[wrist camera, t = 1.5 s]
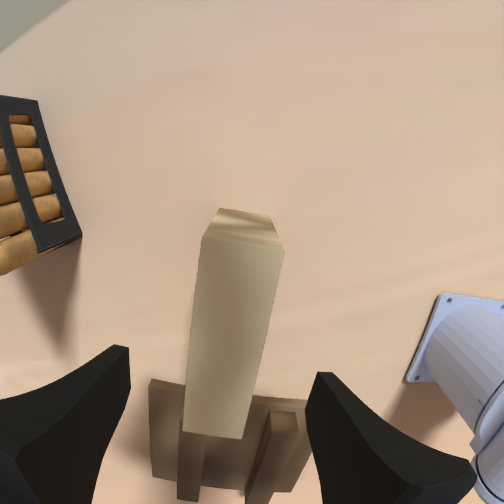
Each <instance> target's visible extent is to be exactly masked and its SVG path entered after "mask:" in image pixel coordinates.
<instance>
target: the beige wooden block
mask: <svg viewBox="0 0 504 504" xmlns="http://www.w3.org/2000/svg"><path fill="white" fill-rule="evenodd" d="M284 251H285V250H284V248H283V246H282V244H281V241H280V239H279V237H278V234H277V232H276V230H275V228H274V225H273V223H272V221H271V219H270V216H266V215H260V214H254V213H248V212H242V211H236V210H230V209H223V208H220V209H219V210H218V212H217V213H216V215H215V217H214V218H213V220H212V222H211V223H210V225H209V227H208V228H207V230H206V231H205V233H204V235H203V236H202V241H201V249H200V256H199V264H198V272H197V280H196V288H195V297H194V306H193V315H192V324H191V334H190V344H189V355H188V366H187V377H186V389H185V403H184V417H183V431H186V432H192V433H198V434H204V435H211V436H218V437H225V438H234V439H242V436H243V432H244V428H245V424H246V420H247V416H248V411H249V407H250V403H251V399H252V395H253V391H254V387H255V382H256V378H257V374H258V370H259V365H260V361H261V357H262V352H263V348H264V344H265V339H266V335H267V330H268V326H269V321H270V317H271V312H272V308H273V303H274V298H275V294H276V289H277V284H278V280H279V275H280V270H281V265H282V260H283V256H284Z"/></svg>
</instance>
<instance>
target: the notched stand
mask: <svg viewBox="0 0 504 504" xmlns="http://www.w3.org/2000/svg"><path fill="white" fill-rule="evenodd" d="M185 389H186V385H180V384H175V383H170V382H165V381H160V380H156V379H151V381H150V384H149V426H150V446H151V462H152V474H153V477H156V478H161V479H166V480H171V481H176V482H177V499H180V500H186V501H192V502H198V500H199V492H200V486H207V487H215V488H223V489H233V490H245V504H268V503H269V501H270V499H271V497H272V495H273V493H274V492H291V491H292V489H293V487H294V485H295V483H296V482H297V480H298V478H299V476H300V474H301V472H302V470H303V468H304V466H305V464H306V462H307V460H308V458H309V456H310V454H311V452H312V449H311V445H310V441H309V437H308V433H307V428H306V419H305V407H306V404H307V401H308V400H299V399H285V398H274V397H263V396H254V395H252V399H251V403H250V407H249V411H248V416H247V420H246V424H245V428H244V432H243V436H242V439H234V438H225V437H218V436H211V435H204V434H198V433H192V432H186V431H183V417H184V403H185Z"/></svg>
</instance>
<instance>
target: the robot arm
mask: <svg viewBox="0 0 504 504" xmlns="http://www.w3.org/2000/svg"><path fill="white" fill-rule="evenodd" d="M448 299H449V301H448V302H447V300H448ZM416 376H417V377H416ZM415 377H416V378H415ZM406 380H407V381H408V382H410V383H411V382H436V383H437V384H438V386H439V387H440V388H441V390H442V391H443V392H444V394H445V395H446V396H447V398H448V399H449V400H450V402H451V403H452V404H453V406H454V407H455V408H456V410H457V411H458V413H459V414H460V415H461V417H462V418H463V419H464V421H465V422H466V424H467V425H468V426H469V428H470V429H471V431H472V432H473V433H474V435H475V436H474V438H473V439H472V441H471V442H470V444H469V445H470V446H471V448H472V449H473V451H474V452H475V454H476V455H475V456H474V457H473V459H472V461H471V464H470V462H469V461H468V460H467V459H464V458H460V457H457V456H453V455H450V454H446V453H444V452H441V451H438V450H436V449H433V448H431V447H429V446H426V445H424V444H422V443H420V442H418V441H416V440H414V439H413V438H411V437H409V436H407V435H405V434H404V433H402V432H400V431H399V430H397V429H396V428H394V427H393V426H392V425H390V424H389V423H387V422H386V421H385V420H383V419H382V418H381V417H379V416H378V415H377V414H376V413H375V412H373V411H372V410H371V409H370V408H369V407H368V406H367V405H365V404H364V403H363V402H362V401H361V400H360V399H359V398H358V397H357V396H356V395H355V394H354V393H353V392H352V391H351V390H350V389H349V388H348V387H347V386H346V385H345V384H344V383H343V382H342V381H341V380H340V379H339V378H338V377H337V376H336V375H335V374H333V373H332V372H317V375H316V378H315V381H314V384H313V387H312V390H311V392H310V395H309V398H308V401H307V404H306V407H305V419H306V428H307V433H308V437H309V441H310V445H311V449H312V452H313V456H314V460H315V464H316V467H317V471H318V475H319V480H320V485H321V493H322V501H323V504H457V503H458V502H459V501H460V500H461V499H462V498H463V497H464V496H465V495H466V494H467V493H468V492H469V491H470V490H471V489H472V488H473V487H474V489H475V491H476V493H477V494H478V496H479V497H480V498H481V499H482V500H483V501H484V502H485V503H486V504H504V301H501V300H494V299H486V298H479V297H472V296H465V295H458V294H451V293H441V294H440V295H439V296H438V299H437V301H436V304H435V307H434V310H433V313H432V315H431V318H430V321H429V323H428V326H427V329H426V331H425V334H424V336H423V339H422V341H421V343H420V346H419V348H418V351H417V353H416V355H415V358H414V360H413V362H412V364H411V366H410V369H409V371H408V373H407V375H406ZM130 389H131V382H130V365H129V347H124V346H119V345H115V344H114V345H112V346H111V347H109V348H108V349H106V350H105V351H103V352H102V353H100V354H99V355H98V356H96V357H95V358H93V359H92V360H90V361H89V362H87V363H86V364H84V365H83V366H81V367H80V368H78V369H76V370H74V371H73V372H71V373H69V374H68V375H66V376H64V377H62V378H61V379H59V380H57V381H55V382H53V383H50V384H48V385H46V386H44V387H41V388H39V389H36V390H33V391H30V392H27V393H24V394H21V395H18V396H14V397H10V398H6V399H1V400H0V504H91V503H92V498H93V494H94V490H95V485H96V481H97V477H98V474H99V470H100V467H101V463H102V460H103V457H104V454H105V452H106V449H107V447H108V445H109V442H110V440H111V438H112V436H113V433H114V431H115V429H116V427H117V425H118V422H119V420H120V418H121V416H122V414H123V411H124V409H125V406H126V403H127V400H128V396H129V393H130Z"/></svg>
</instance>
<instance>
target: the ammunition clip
mask: <svg viewBox="0 0 504 504" xmlns="http://www.w3.org/2000/svg"><path fill="white" fill-rule="evenodd" d="M15 202H16V203H15ZM11 203H13V204H11ZM28 228H30V230H27V231H25V232H22V231H23V230H26V229H28ZM7 236H10V238H7V239H5V240H2V241H0V276H1V275H5V274H7V273H9V272H11V271H12V270H14V269H16V268H18V267H20V266H22V265H24V264H25V263H27V262H29V261H31V260H33V259H35V258H37V257H39V256H41V255H43V254H45V253H48V252H50V251H52V250H55V249H57V248H60V247H62V246H65V245H67V244H68V243H70V242H72V241H74V240H76V239H78V238H80V237H82V231H81V228H80V226H79V224H78V221H77V219H76V216H75V214H74V211H73V209H72V206H71V204H70V201H69V199H68V196H67V193H66V191H65V188H64V185H63V183H62V180H61V177H60V174H59V171H58V169H57V166H56V163H55V160H54V157H53V154H52V151H51V147H50V144H49V141H48V138H47V134H46V131H45V128H44V124H43V121H42V117H41V113H40V109H39V106H38V102H37V101H36V100H30V99H24V98H18V97H11V96H4V95H0V239H2V238H4V237H7Z"/></svg>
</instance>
